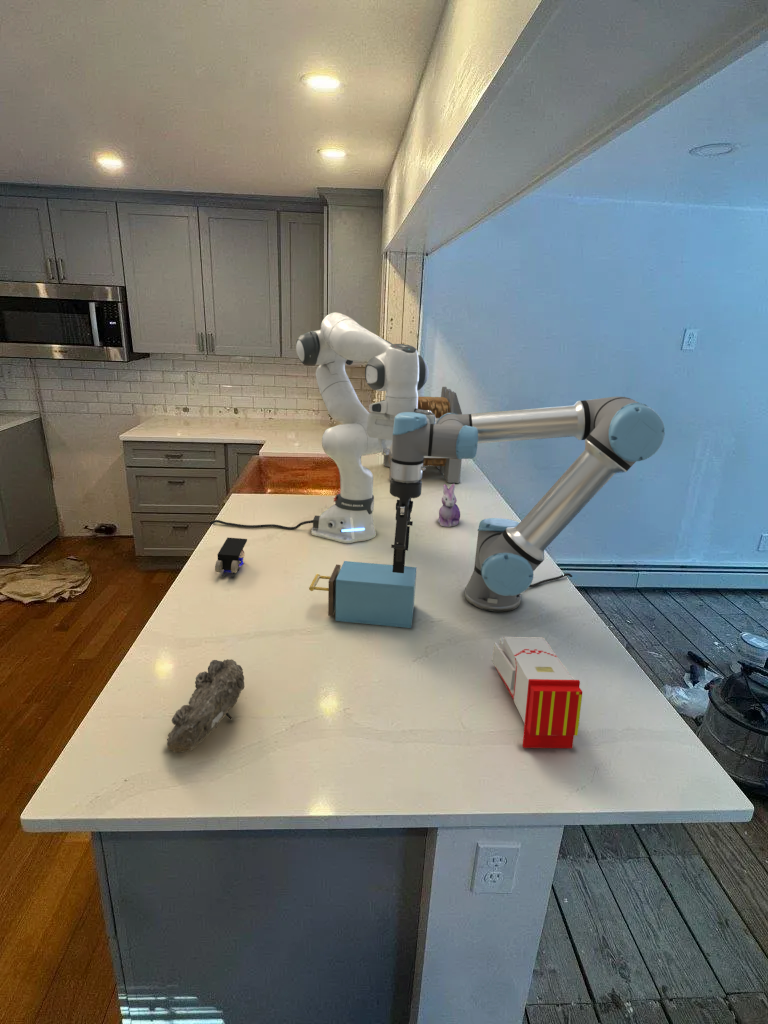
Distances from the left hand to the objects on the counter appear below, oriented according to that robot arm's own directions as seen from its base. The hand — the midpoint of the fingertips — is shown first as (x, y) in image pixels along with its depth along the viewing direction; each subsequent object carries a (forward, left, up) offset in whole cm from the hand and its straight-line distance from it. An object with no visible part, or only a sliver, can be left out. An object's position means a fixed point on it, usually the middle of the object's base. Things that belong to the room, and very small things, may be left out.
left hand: (399, 457), depth 157 cm
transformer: (-17, +111, -36) cm, 118 cm away
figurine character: (-45, -14, -36) cm, 60 cm away
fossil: (-16, -72, -36) cm, 82 cm away
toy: (+41, -47, -36) cm, 72 cm away
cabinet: (+2, -24, -36) cm, 43 cm away
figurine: (+8, +49, -36) cm, 61 cm away
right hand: (+7, -23, -20) cm, 32 cm away
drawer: (-3, -25, -35) cm, 43 cm away
